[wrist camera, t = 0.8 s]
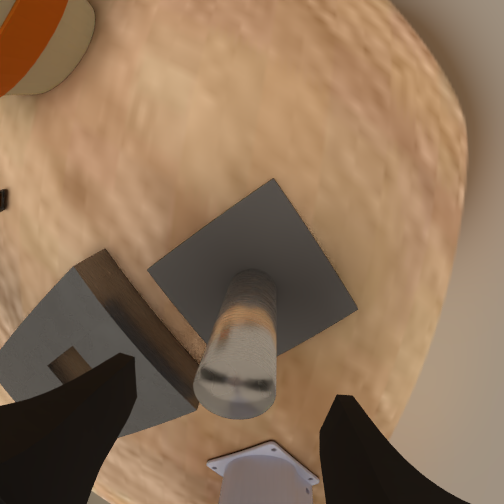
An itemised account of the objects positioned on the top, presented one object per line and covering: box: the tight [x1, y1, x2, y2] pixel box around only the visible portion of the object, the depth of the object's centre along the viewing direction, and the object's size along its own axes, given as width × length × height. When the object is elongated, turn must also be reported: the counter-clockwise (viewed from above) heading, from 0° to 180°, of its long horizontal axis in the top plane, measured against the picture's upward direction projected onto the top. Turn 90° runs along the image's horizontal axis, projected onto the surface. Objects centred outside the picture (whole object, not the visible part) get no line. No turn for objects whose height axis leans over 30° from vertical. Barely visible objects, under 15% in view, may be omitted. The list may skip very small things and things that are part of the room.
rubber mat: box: [147, 178, 358, 356], centre depth 20 cm, size 10×10×1 cm
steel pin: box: [193, 269, 276, 419], centre depth 15 cm, size 3×3×10 cm
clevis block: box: [0, 249, 199, 438], centre depth 21 cm, size 12×20×4 cm, turn 125°
